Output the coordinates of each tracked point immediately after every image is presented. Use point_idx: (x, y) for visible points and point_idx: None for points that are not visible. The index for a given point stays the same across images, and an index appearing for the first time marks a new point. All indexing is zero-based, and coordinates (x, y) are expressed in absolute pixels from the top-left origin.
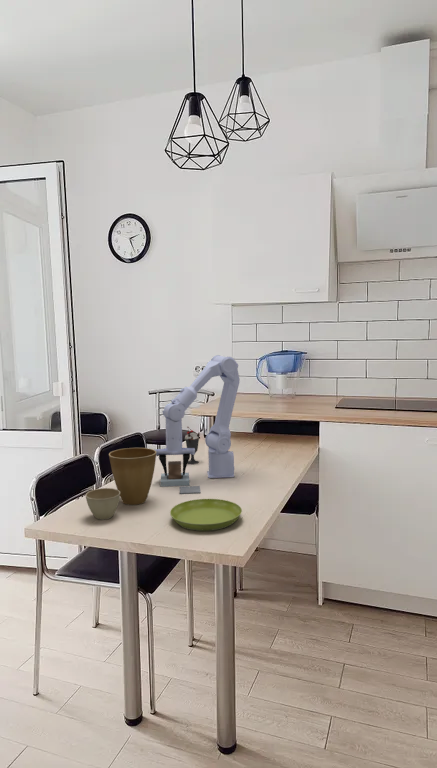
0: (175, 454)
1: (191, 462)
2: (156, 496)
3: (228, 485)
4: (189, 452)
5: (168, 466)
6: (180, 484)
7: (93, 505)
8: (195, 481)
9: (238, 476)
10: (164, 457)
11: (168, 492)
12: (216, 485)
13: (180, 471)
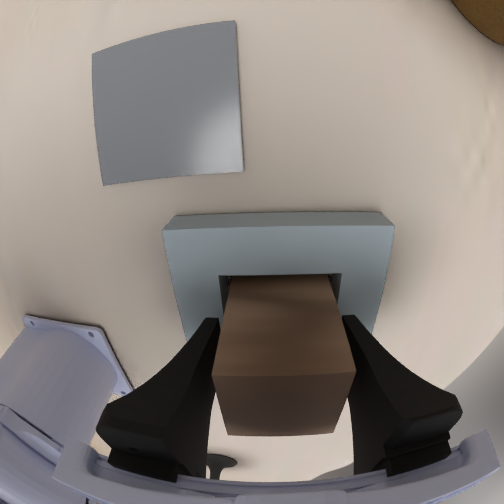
0: (271, 485)
1: (218, 460)
2: (396, 11)
3: (6, 213)
4: (116, 476)
5: (349, 357)
6: (236, 217)
7: None
8: (152, 295)
9: (21, 323)
10: (407, 436)
11: (324, 67)
12: (40, 213)
13: (229, 321)
